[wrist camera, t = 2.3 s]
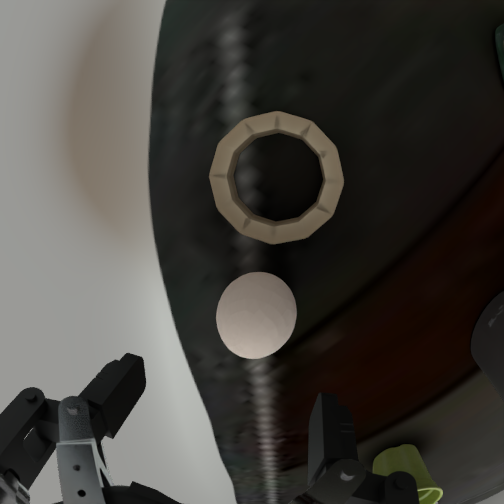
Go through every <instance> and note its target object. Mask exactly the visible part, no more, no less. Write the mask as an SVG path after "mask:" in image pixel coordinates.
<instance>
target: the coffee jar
mask: <svg viewBox="0 0 504 504" xmlns="http://www.w3.org/2000/svg"><path fill="white" fill-rule="evenodd" d="M495 42H496V49H497V54H498V60H499V64H500V69H501V73H502V77H503V81H504V24H502V25H500V26H499V27H497V29H496V31H495Z"/></svg>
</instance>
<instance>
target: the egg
mask: <svg viewBox="0 0 504 504" xmlns="http://www.w3.org/2000/svg"><path fill="white" fill-rule="evenodd" d="M296 315H297V310H296V302H295V298H294V296H293V294H292V291H291V290H290V288H289V287H288V286H287V285H286V283H285V282H284V281H283V280H281V279H280V278H278V277H277V276H275V275H272V274H270V273H265V272H252V273H247V274H245V275H242V276H240V277H238V278H237V279H236V280H234V281H233V282H231V284H230V285H229V286H228V287H227V288H226V289H225V291H224V293H223V294H222V296H221V299H220V301H219V303H218V308H217V316H216V321H217V327H218V331H219V333H220V336H221V339H222V340H223V342H224V343H225V345H226V346H227V347H228V348H229V349H230V350H231V351H232V352H233V353H235V354H237V355H238V356H240V357H244V358H249V359H259V358H262V357H265V356H268V355H270V354H272V353H274V352H276V351H277V350H278V349H279V348H281V347H282V346H283V345H284V344H285V342H286V341H287V340H288V339H289V337H290V336H291V333H292V331H293V329H294V326H295V322H296Z"/></svg>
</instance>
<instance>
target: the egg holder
mask: <svg viewBox="0 0 504 504" xmlns="http://www.w3.org/2000/svg"><path fill="white" fill-rule="evenodd" d="M276 133H282V134H285V135H289V136H292V137H295V138H298V139H302V140H303V141H304V142H305V143H306V144H307V145H308V146H309V148H310V149H311V150H312V151H313V152H314V153H315V154H316V155H317V156H318V158H319V162H320V167H321V171H322V176H323V183H322V186H321V189H320V192H319V195H318V198H317V201H316V203H314V204H313V205H312V206H311V207H310V208H309V209H308V210H306V211H305V212H304V213H303V214H302V215H301V216H300V217H297V218H292V219H287V220H282V221H277V222H275V221H272V220H269V219H266V218H263V217H260V216H257V215H254V214H253V213H252V212H251V211H250V209H249V208H248V207H247V206H246V205H245V204H244V203H243V202H242V201H241V200H240V199H239V197H238V193H237V189H236V185H235V181H234V176H233V175H234V171H235V168H236V165H237V161H238V158H239V155H240V153H241V152H242V151H243V150H244V149H245V148H246V147H247V146H249V145H250V144H251V143H252V142H253V141H254V140H255V139H256V138H259V137H263V136H267V135H272V134H276ZM219 143H220V144H218V146H217V149H216V153H215V156H214V160H213V163H212V167H211V170H210V174H209V175H210V176H209V178H210V182H211V186H212V191H213V195H214V199H215V203H216V207H217V208H218V210H219V211H220V213H221V214H222V215H223V216H224V217H225V218H226V219H227V220H228V221H229V222H230V223H231V224H232V226H233V227H234V228H235V229H236V230H237V231H238V232H239V233H241V234H242V235H245V236H248V237H251V238H254V239H257V240H260V241H263V242H266V243H269V244H272V243H273V244H278V243H284V242H289V241H294V240H300V239H305V238H306V237H309V236H310V235H311V234H312V233H313V232H314V231H316V230H317V229H318V228H319V227H320V226H321V225H323V224H324V223H325V222H326V221H327V220H328V219H330V218H331V217H332V215H333V214H334V211H335V208H336V205H337V203H338V200H339V197H340V194H341V191H342V188H343V185H344V183H343V182H344V178H343V174H342V169H341V164H340V160H339V155H338V151H337V148H336V146H335V145H334V144H333V143H332V142H331V141H330V140H329V138H328V137H327V136H326V135H325V134H324V133H323V132H322V131H321V130H320V129H319V128H318V127H317V126H316V125H315V124H314V123H313V122H312V123H311V121H310V120H307V119H304V118H301V117H297V116H294V115H291V114H287V113H284V112H280V111H278V112H277V111H275V112H270V113H266V114H262V115H258V116H254V117H250V118H246V119H244V120H242V121H241V122H240V123H239V124H238V125H237V126H235V127H234V128H233V129H232V130H231V131H230V132H229V133H228V134H227V135H226V136H225V137H224V138H223V139H222V140H221V141H220V142H219ZM331 214H332V215H331Z"/></svg>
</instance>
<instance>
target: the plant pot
mask: <svg viewBox="0 0 504 504" xmlns="http://www.w3.org/2000/svg"><path fill="white" fill-rule="evenodd" d="M396 471H404V472H407V473H409V474H411V475H412V476H413V477H414V478H415V480H416V483H417V489H418V496H419V503H420V504H435V503H436V502H437V501H438V500H439V499H440V498H441V496H442V494H443V491H442V489H441V488H440V487H437V485H436V483H435V482H434V481H433V480H432V479H431V477H430V475H429V472H428V470H427V468H426V466H425V464H424V462H423V460H422V458H421V456H420V454H419V452H418V450H417V448H416V447H415V446H414V445H410V444H403V445H401V446H399V447H395V448H389V449H386V450H385V451H383V452H381V453H380V454H379V455H378V456H377V457H376V458H375V459H374V462H373V473H374V474H378V475H383V476H388V475H390V474H391V473H393V472H396Z"/></svg>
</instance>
